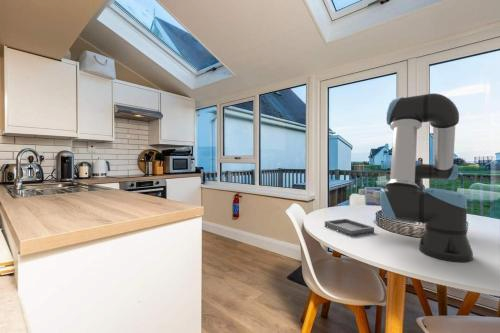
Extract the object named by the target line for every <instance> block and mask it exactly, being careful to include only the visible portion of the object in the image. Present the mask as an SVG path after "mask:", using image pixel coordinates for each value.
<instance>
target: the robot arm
mask: <svg viewBox="0 0 500 333" xmlns="http://www.w3.org/2000/svg"><path fill="white" fill-rule="evenodd" d="M385 119H386V125H388V126H389V128H390V129H391V130H392V131H393V134H392V135H393V136H392V137H393V138H392V147H391V148H392V150H391V160H390V161H391V164H390V165H391V166H390V178H389V181H388V182H386V184H385V186H384V187H379V188H383V189H381V191H375V192H373V197H380V202H381V206H380V208H381V212H382V214H383V216H384V217H386V218H390V219H394V220H404V221H409V222H410V221H411V222H418V223H420V222H421V223H424V227H425V228H424V231H423V234H422V236H421V238H420V240H419V242H418V243H419V244H418V245H419V246H418V250H419V251H420V252H422V253H423V254H424V255H427V256H430V257H433V258H436V259H439V260H444V261H449V262H455V263H456V262H458V263H466V262H472V261H473V260H474V253H473V249H472V247H471V244H470V242H469V239H468V236H467V220H468V219H467V213H468V212H467V209H468V208H469V207H468V203H467V201H468V200H467V199H468V198H467V196H466V195H465V194H463V193H461V192H459V191H458V192H457V191H454V190H450V189H445V188H444V189H442V188H437V187H436V188H435V187H425V185H424V183H422V180H423V179H425V180H426V179H430V180H446V181H448V180H449V181H450V180H457V179H458V177H459V166H458V164H454V155H455V140H456V139H455V138H456V126H457V125H458V124H459V121H460V112H459V110H458V107H457V106H456V104H455V103H454V102H453V100H452V99H450V98H449V97H447V96H445V95H444V94H440V93H427V94H420V95H413V96H408V97H407V96H406V97H401V96H400V97H399V98H394V99H392V100H390V101H389V103H388V106H387V110H386V118H385ZM423 123H429V125H430V126H431V127H432V141H433V142H432V149H433V151H432V152H433V155H432V160H433V161H432V162H433V163H431V164H430V163H422V161H421V160H417V142H418V141H417V139H418V138H417V137H418V130H419V129H421V128H422V126H423V125H422V124H423ZM362 195H364V196H365V188H359V189H358V196H362Z"/></svg>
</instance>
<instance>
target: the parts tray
mask: <svg viewBox="0 0 500 333" xmlns="http://www.w3.org/2000/svg"><path fill="white" fill-rule="evenodd" d="M324 226H325V227H326V226H328V227H327V228H329V227H330V228H329V229H331V228H333V229H332V230H334V229H335V230H334V231H336V230H338V231H337V232H339V231H340V232H339V233H341V232H342V233H341V234H344V233H345V234H344V235H346V234H348V235H347V236H349V235H350V236H349V237H355V236H361V234H363V235H367V233H369V234H374V233H375V227H374V226H372V225H368V224H364V223H363V222H362V223H361V222H359V221H355V220H351V219H349V218H340V219H332V220H326V221H324ZM373 232H374V233H373Z"/></svg>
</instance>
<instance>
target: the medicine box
mask: <svg viewBox="0 0 500 333" xmlns="http://www.w3.org/2000/svg"><path fill="white" fill-rule="evenodd" d="M383 188H384V187H381V188H380V187H377V186H376V187H374V186H372V187H369V186H368V187H367V186H366V187H365V186H364V189H365V195H364V205H365V206H376V207H381V202H380V197H373V192H375V191H381V189H383Z"/></svg>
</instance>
